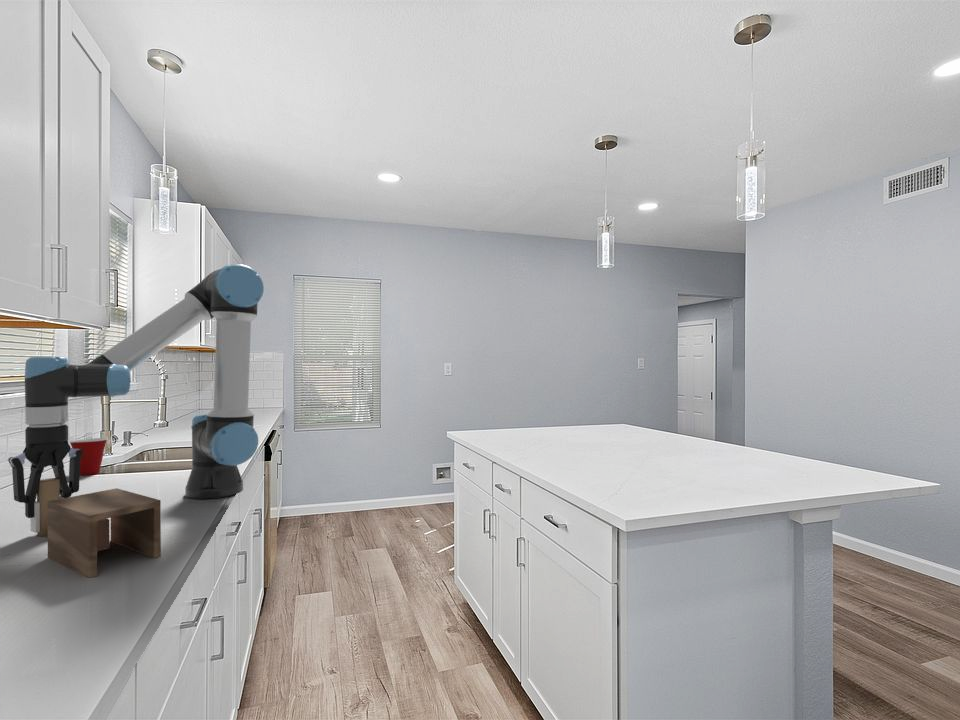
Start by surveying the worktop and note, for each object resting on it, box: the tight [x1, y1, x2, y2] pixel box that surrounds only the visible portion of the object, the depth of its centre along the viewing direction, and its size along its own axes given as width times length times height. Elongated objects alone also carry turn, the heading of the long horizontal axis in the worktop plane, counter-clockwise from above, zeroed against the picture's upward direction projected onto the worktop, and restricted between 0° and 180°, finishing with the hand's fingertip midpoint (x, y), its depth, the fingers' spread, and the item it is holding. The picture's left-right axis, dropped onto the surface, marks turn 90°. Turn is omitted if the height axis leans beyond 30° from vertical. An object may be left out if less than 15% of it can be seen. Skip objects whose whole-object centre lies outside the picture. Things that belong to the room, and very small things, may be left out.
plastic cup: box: [68, 437, 109, 476], centre depth 182 cm, size 11×11×12 cm
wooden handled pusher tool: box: [36, 477, 110, 552], centre depth 116 cm, size 6×24×12 cm, turn 57°
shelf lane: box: [47, 488, 162, 578], centre depth 107 cm, size 12×18×11 cm
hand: (47, 528), depth 121 cm, fingers closed on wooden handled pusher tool, 4 cm apart
